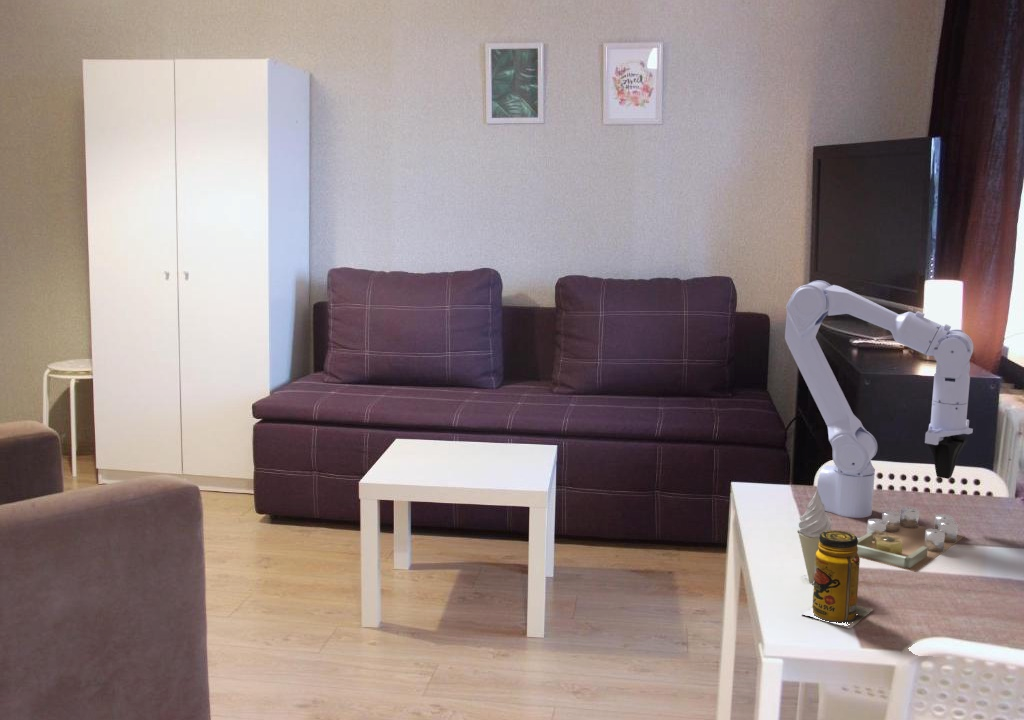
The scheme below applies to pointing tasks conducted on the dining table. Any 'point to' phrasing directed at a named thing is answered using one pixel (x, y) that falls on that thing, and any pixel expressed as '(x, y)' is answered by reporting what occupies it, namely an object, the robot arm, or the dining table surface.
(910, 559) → the tan tray
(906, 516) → the spacers
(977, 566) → the dining table surface
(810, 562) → the ice cream cone
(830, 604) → the condiment
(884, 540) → the nut
